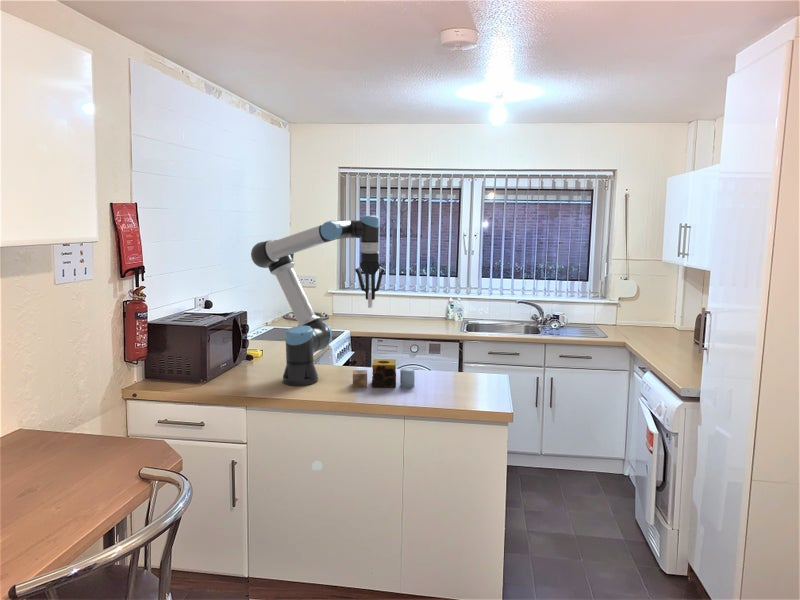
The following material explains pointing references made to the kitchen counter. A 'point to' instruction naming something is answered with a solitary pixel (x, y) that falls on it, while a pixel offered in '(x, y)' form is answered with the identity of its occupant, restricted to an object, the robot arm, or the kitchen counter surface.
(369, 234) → the robot arm
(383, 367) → the candle
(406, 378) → the blue cylinder
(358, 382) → the brown jar
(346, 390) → the kitchen counter surface
